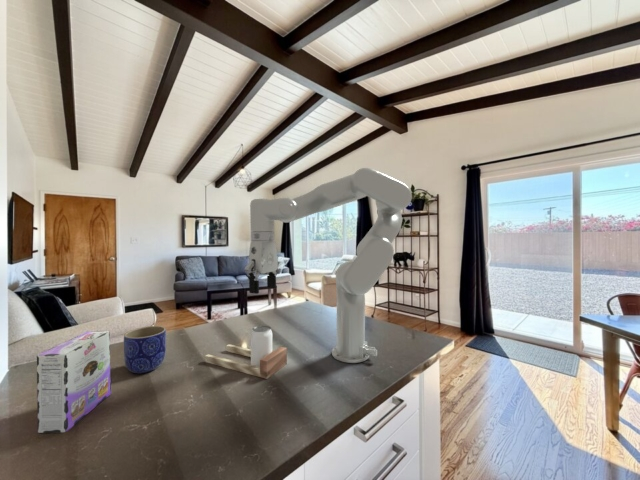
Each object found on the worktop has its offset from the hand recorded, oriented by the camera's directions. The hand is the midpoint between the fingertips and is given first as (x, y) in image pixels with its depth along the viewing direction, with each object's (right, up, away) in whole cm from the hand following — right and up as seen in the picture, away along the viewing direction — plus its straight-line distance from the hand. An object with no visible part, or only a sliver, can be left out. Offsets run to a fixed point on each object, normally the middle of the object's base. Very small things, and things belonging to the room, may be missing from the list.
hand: (263, 290), depth 91 cm
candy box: (-37, -23, -27) cm, 51 cm away
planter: (-35, -23, -6) cm, 42 cm away
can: (0, -23, -5) cm, 23 cm away
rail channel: (-5, -23, -2) cm, 23 cm away
